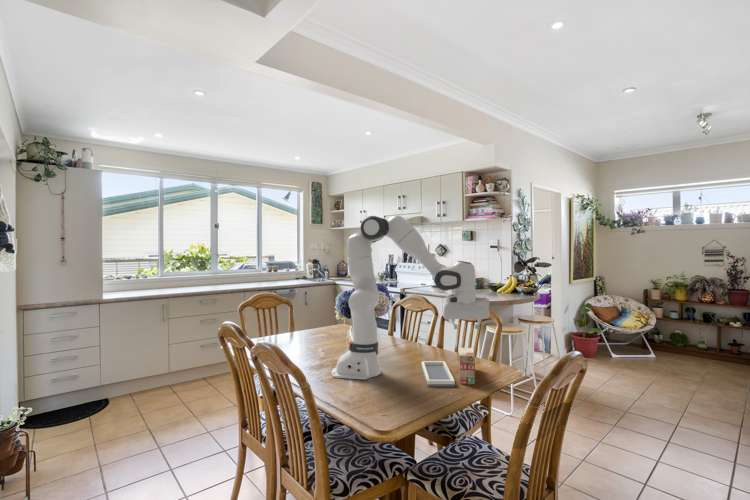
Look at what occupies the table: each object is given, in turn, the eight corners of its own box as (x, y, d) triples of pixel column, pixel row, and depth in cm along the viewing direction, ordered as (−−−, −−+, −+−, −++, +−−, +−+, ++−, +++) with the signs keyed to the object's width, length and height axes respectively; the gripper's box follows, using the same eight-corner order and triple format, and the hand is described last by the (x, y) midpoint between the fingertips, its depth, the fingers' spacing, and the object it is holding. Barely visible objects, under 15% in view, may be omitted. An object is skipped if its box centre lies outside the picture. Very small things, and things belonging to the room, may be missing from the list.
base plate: (427, 386, 151) (427, 380, 151) (421, 366, 177) (421, 361, 177) (454, 386, 151) (454, 380, 151) (444, 366, 177) (444, 361, 177)
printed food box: (458, 368, 175) (458, 342, 175) (471, 368, 173) (471, 342, 173) (459, 384, 154) (459, 354, 154) (475, 385, 152) (474, 355, 152)
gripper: (487, 296, 166) (487, 327, 166) (441, 297, 167) (442, 327, 167) (491, 298, 160) (491, 330, 160) (443, 298, 160) (444, 330, 160)
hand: (466, 328), depth 163 cm, fingers open, 8 cm apart
